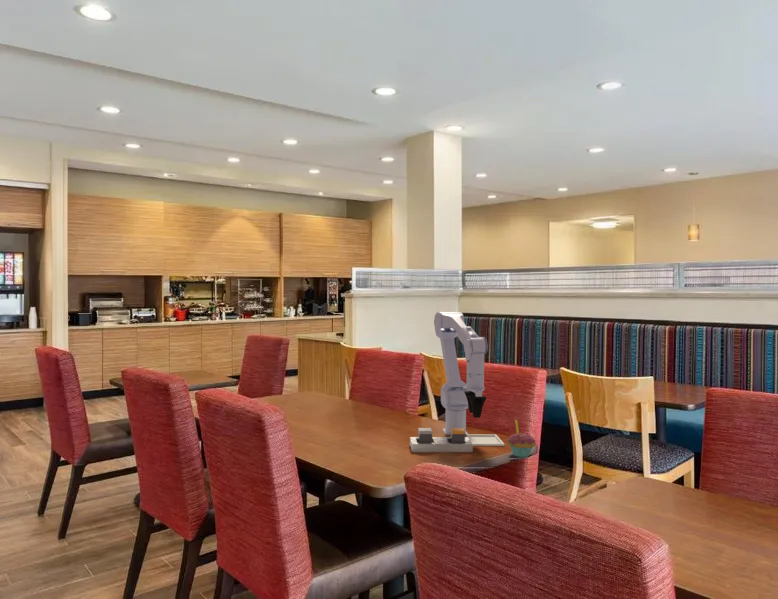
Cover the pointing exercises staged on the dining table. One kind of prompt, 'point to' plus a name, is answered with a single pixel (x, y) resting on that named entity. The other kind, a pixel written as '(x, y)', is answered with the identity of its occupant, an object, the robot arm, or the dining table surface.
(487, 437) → the tray
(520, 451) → the cupcake
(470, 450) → the pdu strip
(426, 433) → the twin plug
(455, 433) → the plug
